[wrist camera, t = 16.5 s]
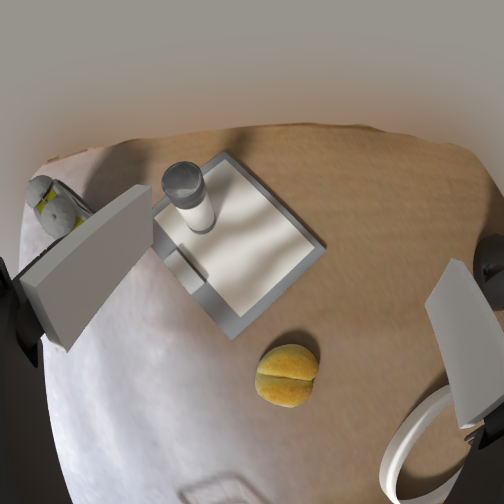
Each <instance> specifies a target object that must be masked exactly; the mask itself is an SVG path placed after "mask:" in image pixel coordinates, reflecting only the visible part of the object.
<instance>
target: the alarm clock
mask: <svg viewBox="0 0 504 504" xmlns="http://www.w3.org/2000/svg"><path fill="white" fill-rule="evenodd" d="M27 184H28V186H27V189H26V201H27V204H28V205H29V207H30V208H34V213H35V216H36V218H37V220H38V221H39V223H40V224H41V225H42V228H43V229H44V231H45V232H46V233H47V234H48V235H50V236H52V237H53V238H54V239H55V240H57V239H59V238H61V237H63V236H65V235H67V234H69V233H71V232H72V231H73V230H75V229H76V228H77V227H78V226H80V225H81V224H82V223H83V222H85V221H86V220H87V219H89V218H90V217H91V216H93V215H94V214H95V213H96V212H95V211H94V210H93V209H92V208H91V207H90V206H89V205H88V204H87V203H86V202H85V201H84V200H83V199H82V198H81V197H80V196H79V195H77V194H76V193H75V192H74V191H73V190H72V189H71V188H69V187H68V186H67V185H66V184H64V183H63V182H61V181H60V180H57V179H54V180H52V178H50V177H49V176H45V175H40V176H37V177H35V178H33V179H32V180H30V181H28V183H27Z"/></svg>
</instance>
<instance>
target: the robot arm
mask: <svg viewBox="0 0 504 504" xmlns="http://www.w3.org/2000/svg"><path fill="white" fill-rule="evenodd" d="M152 244H153V222H152V187H151V186H145V185H138V184H136V185H135V186H133V187H132V188H130V189H129V190H127V191H126V192H124V193H123V194H121V195H120V196H119V197H117V198H116V199H114V200H113V201H111V202H110V203H109V204H107V205H106V206H105V207H103V208H102V209H101V210H99V211H98V212H97V213H95V214H94V215H93V216H91V217H90V218H89V219H87V220H86V221H85V222H83V223H82V224H81V225H80V226H78V227H77V228H76V229H75V230H73V231H72V232H71V233H69V234H67V235H65V236H63V237H61V238H59V239H57V240H56V241H55V242H53V243H52V244H51V245H50V246H49V247H47V250H46V249H45V250H44V251H43V252H42V253H41V254H40V256H37V257H36V258H35V259H34V260H33V261H32V262H31V263H30V264H28V265H27V266H26V267H25V268H24V269H23V270H22V271H21V272H20V273H19V274H18V275H17V276H16V277H15V278H14V279H13V280H12V281H11V278H10V276H9V274H8V271H7V268H6V266H5V263H4V261H3V259H2V257H0V504H73V503H72V500H71V497H70V495H69V492H68V489H67V486H66V483H65V480H64V476H63V473H62V470H61V466H60V463H59V459H58V455H57V451H56V447H55V442H54V438H53V433H52V428H51V422H50V416H49V410H48V403H47V395H46V386H45V375H44V360H43V344H42V340H41V339H40V338H41V336H42V335H43V334H44V333H45V334H46V336H47V338H48V339H49V341H50V343H51V344H52V345H54V346H55V347H57V348H59V349H61V350H62V351H64V352H66V353H68V351H69V350H70V349H71V347H72V346H73V344H74V343H75V341H76V340H77V339H78V337H79V336H80V334H81V333H82V332H83V330H84V329H85V327H86V326H87V325H88V323H89V322H90V321H91V319H92V318H93V317H94V315H95V314H96V313H97V311H98V310H99V309H100V307H101V306H102V305H103V303H104V302H105V301H106V300H107V298H108V297H109V296H110V295H111V293H112V292H113V291H114V289H115V288H116V287H117V286H118V284H119V283H120V282H121V281H122V280H123V278H124V277H125V276H126V275H127V273H128V272H129V271H130V270H131V269H132V267H133V266H134V265H135V264H136V263H137V261H138V260H139V259H140V258H141V257H142V256H143V254H144V253H145V252H146V251H147V250H148V249H149V247H150V246H151V245H152ZM424 305H425V308H426V310H427V313H428V316H429V319H430V321H431V324H432V327H433V330H434V333H435V336H436V339H437V342H438V345H439V348H440V351H441V355H442V358H443V362H444V365H445V369H446V372H447V376H448V380H449V384H450V388H451V392H452V396H453V401H454V405H455V410H456V415H457V421H458V426H459V429H462V428H468V427H472V426H474V425H475V424H476V423H478V422H479V421H481V420H482V419H483V418H484V423H485V424H483V425H482V426H481V427H479V428H478V429H476V430H475V431H473V432H472V433H471V434H469V435H467V436H466V438H465V439H464V440H465V441H467V440H468V439H470V438H471V437H475V438H474V439H472V440H470V441H469V442H468V444H470V445H471V446H472V447H471V449H470V451H469V454H468V456H467V458H466V461H465V463H464V465H463V467H462V469H461V471H460V473H459V475H458V477H457V479H456V481H455V483H454V485H453V487H452V489H451V491H450V493H449V494H448V496H447V498H446V500H445V501H444V503H443V504H504V333H503V331H502V328H501V326H500V324H499V322H498V320H497V319H496V317H495V315H494V313H493V311H502V310H504V235H498V234H494V235H491V236H488V237H486V238H484V239H483V240H482V241H481V242H480V243H479V245H478V247H477V249H476V253H475V257H474V278H473V277H472V275H471V273H470V272H469V270H468V269H467V267H466V266H465V264H464V263H463V262H462V261H459V260H456V259H453V258H451V260H450V262H449V264H448V265H447V267H446V269H445V271H444V273H443V274H442V276H441V278H440V279H439V281H438V283H437V285H436V286H435V288H434V290H433V291H432V293H431V294H430V296H429V298H428V299H427V301H426V302H425V304H424Z"/></svg>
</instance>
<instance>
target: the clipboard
mask: <svg viewBox="0 0 504 504" xmlns="http://www.w3.org/2000/svg"><path fill="white" fill-rule="evenodd" d="M200 170H201V172H202V175H203V178H204V181H205V184H206V189H207V193H208V196H209V199H210V202H211V205H212V208H213V211H214V213H215V216H216V224H215V226H214V228H213V229H212V230H211V231H210V232H208V233H206V234H201V235H200V234H196V233H194V232H192V231H191V230H190V228H189V227H188V225H187V223H186V222H185V220H184V219H183V217H182V216H181V214H180V213H179V211H178V210H177V208H176V207H175V206H174V205H173V204H172V202H171V201H170V199H169V198H168V196H166V197H165V198H164V199H163V200H162V201H160V202H159V203H158V204H157V205H156V206H155V207H154V208H152V222H153V244H152V245H151V247H152V248H153V250H154V251H155V252H156V253H157V255H158V256H159V257H160V258H161V260H162V261H163V262H164V263H165V265H166V266H167V267H168V268H169V270H170V271H171V272H172V273H173V274H174V276H175V277H176V278H177V279H178V280H179V282H180V283H181V284H182V285H183V286H184V288H185V289H186V290H187V291H188V292H189V293H190V295H191V296H192V297H193V298H194V299H195V300H196V301H197V303H198V304H199V305H200V306H201V307H202V308H203V309H204V311H205V312H206V313H207V314H208V315H209V316H210V317H211V318H212V320H213V321H214V322H215V323H216V324H217V325H218V326H219V327H220V328H221V329H222V331H223V332H224V333H225V334H226V335H227V336H228V337H229V338H230V339H231V340H233V339H234V338H235V337H236V336H237V335H238V334H239V333H240V332H242V331H243V330H244V329H245V328H246V327H247V326H248V325H249V324H250V323H252V322H253V321H254V320H255V319H256V318H257V317H258V316H259V315H260V314H261V313H262V312H264V311H265V310H266V309H267V308H268V307H269V306H270V305H271V304H272V303H273V302H274V301H275V300H276V299H277V298H279V297H280V296H281V295H282V294H283V293H284V292H285V291H286V290H287V289H288V288H289V287H290V286H291V285H292V284H293V283H294V282H295V281H296V280H297V279H298V278H299V277H300V276H301V275H303V274H304V273H305V272H306V271H307V270H308V269H309V268H310V267H311V266H312V265H313V264H314V263H315V262H316V261H317V260H318V259H319V258H320V257H321V256H322V255H323V254H324V253H325V252H326V250H325V249H324V248H323V247H322V246H321V244H320V243H319V242H318V241H317V240H316V239H315V238H314V237H313V236H312V235H311V234H310V233H309V232H308V231H307V230H306V229H305V228H304V227H303V226H302V225H301V224H300V223H299V222H298V221H297V220H296V219H295V218H294V217H293V216H292V215H291V214H290V213H289V212H288V211H287V210H286V209H285V208H284V207H283V206H282V205H281V204H280V203H279V202H278V201H277V200H276V199H275V198H274V197H273V196H272V195H271V194H270V193H269V192H268V191H267V190H266V189H265V188H264V187H263V186H262V185H261V184H259V183H258V182H257V181H256V180H255V179H254V178H253V177H252V176H251V175H250V174H249V173H248V172H247V171H246V170H245V169H244V168H243V167H241V166H240V165H239V164H238V163H237V162H236V161H235V160H234V159H233V158H232V157H231V156H230V155H228V154H227V153H226V152H225V151H224V150H223V151H222V152H221V153H219V154H218V155H217V156H216V157H214V158H213V159H212V160H210V161H209V162H208V163H206V164H205V165H204V166H203V167H201V168H200Z"/></svg>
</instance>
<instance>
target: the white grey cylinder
mask: <svg viewBox="0 0 504 504" xmlns="http://www.w3.org/2000/svg"><path fill="white" fill-rule="evenodd" d="M162 188H163V190H164V192H165V193H166V195H167V196H168V198H169V199H170V201H171V202H172V204H173V205H174V206H175V207H176V208H177V210H178V211H179V213H180V214H181V216H182V217H183V219H184V220H185V222H186V223H187V225H188V227H189V228H190V230H191V231H192V232H194V233H196V234H200V235H201V234H206V233H208V232H210V231H211V230H212V229H213V228H214V226H215V224H216V216H215V213H214V211H213V208H212V205H211V202H210V199H209V196H208V193H207V189H206V184H205V181H204V178H203V175H202V172H201V170H200V168H199V167H198V166H197V165H196V164H194V163H192V162H186V161H184V162H178V163H175V164H173V165H172V166H170V167H169V168H168V169H167V170H166V172H165V173H164V175H163V177H162Z"/></svg>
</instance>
